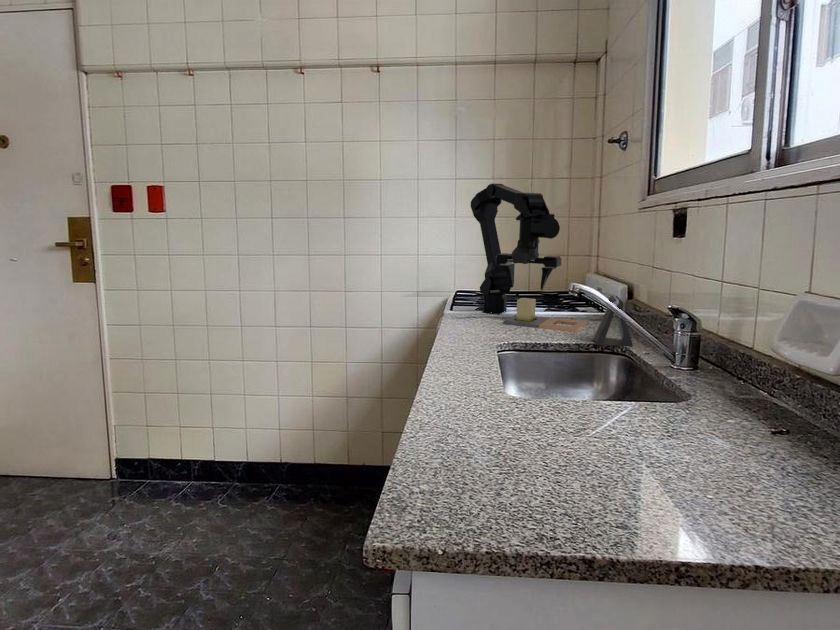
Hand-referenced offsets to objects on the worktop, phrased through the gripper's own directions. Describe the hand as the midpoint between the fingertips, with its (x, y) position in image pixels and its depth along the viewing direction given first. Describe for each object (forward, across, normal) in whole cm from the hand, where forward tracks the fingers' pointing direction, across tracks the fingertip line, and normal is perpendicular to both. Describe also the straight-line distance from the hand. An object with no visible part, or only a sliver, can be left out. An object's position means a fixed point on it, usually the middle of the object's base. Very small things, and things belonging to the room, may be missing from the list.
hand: (526, 288), depth 168 cm
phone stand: (+10, +28, -14) cm, 33 cm away
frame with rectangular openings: (+10, +6, 0) cm, 12 cm away
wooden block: (+10, 0, 0) cm, 10 cm away
